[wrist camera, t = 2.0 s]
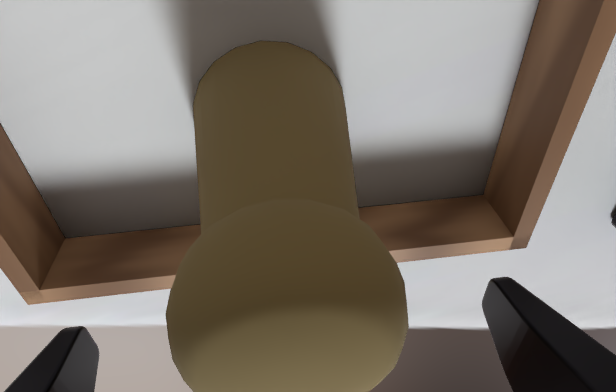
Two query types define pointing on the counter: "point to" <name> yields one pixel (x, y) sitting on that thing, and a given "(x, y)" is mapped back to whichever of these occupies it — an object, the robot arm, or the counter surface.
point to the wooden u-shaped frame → (382, 219)
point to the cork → (281, 239)
